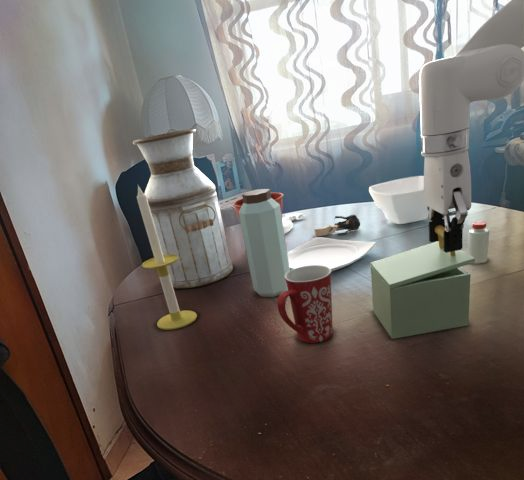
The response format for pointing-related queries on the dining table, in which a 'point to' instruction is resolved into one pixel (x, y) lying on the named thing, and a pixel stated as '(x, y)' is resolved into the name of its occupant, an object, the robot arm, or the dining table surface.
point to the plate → (328, 253)
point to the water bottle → (264, 242)
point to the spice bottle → (478, 242)
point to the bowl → (401, 199)
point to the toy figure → (339, 226)
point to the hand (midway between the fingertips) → (445, 244)
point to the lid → (420, 262)
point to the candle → (163, 272)
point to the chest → (422, 303)
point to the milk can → (185, 211)
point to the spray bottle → (289, 221)
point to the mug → (308, 302)
